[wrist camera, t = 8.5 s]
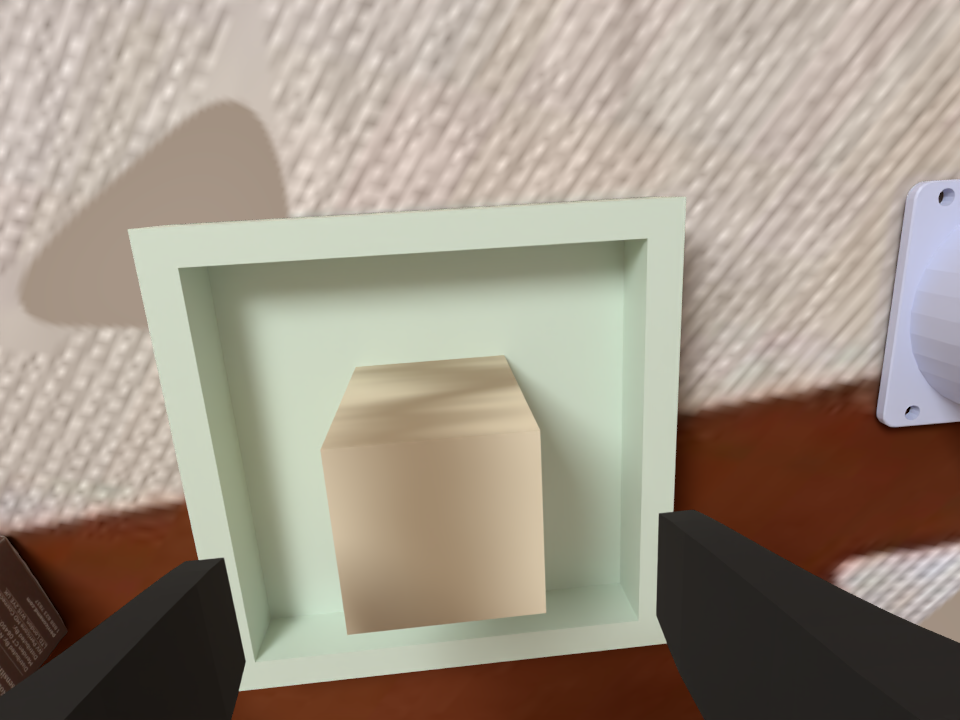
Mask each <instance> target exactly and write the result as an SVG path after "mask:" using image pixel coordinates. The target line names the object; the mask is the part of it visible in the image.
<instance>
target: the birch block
mask: <svg viewBox="0 0 960 720" xmlns="http://www.w3.org/2000/svg"><path fill="white" fill-rule="evenodd" d="M320 451H321V458H322V465H323V472H324V479H325V486H326V492H327V499H328V506H329V513H330V520H331V527H332V534H333V540H334V547H335V554H336V561H337V568H338V575H339V581H340V588H341V595H342V602H343V609H344V616H345V623H346V629H347V635H352V634H361V633H370V632H379V631H388V630H397V629H406V628H415V627H424V626H433V625H442V624H451V623H460V622H469V621H479V620H488V619H497V618H506V617H515V616H524V615H533V614H542V613H546V588H545V558H544V528H543V498H542V468H541V438H540V429H539V427H538V425H537V423H536V420H535V418H534V416H533V414H532V412H531V410H530V408H529V406H528V404H527V402H526V400H525V398H524V396H523V393H522V391H521V389H520V387H519V385H518V383H517V381H516V379H515V377H514V375H513V373H512V371H511V369H510V366H509V364H508V362H507V360H506V358H505V356H504V355H499V356H486V357H474V358H461V359H449V360H436V361H424V362H411V363H399V364H386V365H374V366H362V367H355V370H354V372H353V374H352V377H351V379H350V381H349V384H348V386H347V389H346V391H345V393H344V396H343V398H342V400H341V403H340V405H339V407H338V410H337V412H336V414H335V417H334V419H333V421H332V424H331V426H330V428H329V431H328V433H327V435H326V438H325V440H324V442H323V445H322V447H321V449H320Z"/></svg>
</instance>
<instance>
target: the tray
mask: <svg viewBox="0 0 960 720" xmlns="http://www.w3.org/2000/svg"><path fill="white" fill-rule="evenodd" d="M685 214H686V197H640V198H623V199H606V200H589V201H572V202H554V203H537V204H520V205H503V206H486V207H468V208H451V209H434V210H417V211H400V212H382V213H365V214H348V215H331V216H313V217H296V218H279V219H262V220H245V221H229V222H210V223H193V224H177V225H165V226H155V227H145V228H136V229H128V234H129V238H130V243H131V248H132V252H133V257H134V261H135V266H136V271H137V276H138V280H139V285H140V289H141V294H142V299H143V303H144V308H145V313H146V317H147V322H148V327H149V332H150V336H151V341H152V345H153V350H154V355H155V359H156V364H157V369H158V373H159V378H160V383H161V387H162V392H163V397H164V401H165V406H166V411H167V415H168V420H169V425H170V429H171V434H172V438H173V443H174V448H175V452H176V457H177V462H178V466H179V471H180V476H181V480H182V485H183V490H184V494H185V499H186V504H187V508H188V513H189V518H190V522H191V527H192V531H193V536H194V541H195V545H196V550H197V555H198V559H199V560H204V559H214V558H224V560H225V564H226V569H227V574H228V579H229V583H230V588H231V593H232V598H233V603H234V607H235V612H236V617H237V622H238V626H239V631H240V636H241V641H242V645H243V650H244V655H245V660H246V663H245V667H244V672H243V676H242V680H241V684H240V688H239V691H244V690H253V689H262V688H271V687H280V686H289V685H298V684H307V683H316V682H325V681H334V680H343V679H352V678H361V677H370V676H379V675H388V674H397V673H405V672H414V671H423V670H432V669H441V668H450V667H459V666H468V665H477V664H486V663H495V662H504V661H513V660H522V659H531V658H540V657H549V656H558V655H567V654H576V653H585V652H594V651H603V650H612V649H621V648H630V647H639V646H648V645H657V644H666V643H667V642H666V639H665V637H664V634H663V632H662V629H661V627H660V624H659V621H658V619H657V616H656V600H657V561H658V521H659V513H667V512H673V509H674V484H675V460H676V435H677V410H678V386H679V361H680V337H681V312H682V288H683V263H684V239H685ZM499 355H504V356H505V358H506V360H507V362H508V364H509V366H510V369H511V371H512V373H513V375H514V377H515V379H516V381H517V383H518V385H519V387H520V389H521V391H522V393H523V396H524V398H525V400H526V402H527V404H528V406H529V408H530V410H531V412H532V414H533V416H534V418H535V420H536V423H537V425H538V427H539V429H540V438H541V468H542V498H543V528H544V558H545V588H546V613H542V614H533V615H524V616H515V617H506V618H497V619H488V620H479V621H469V622H460V623H451V624H442V625H433V626H424V627H415V628H406V629H397V630H388V631H379V632H370V633H361V634H352V635H347V629H346V623H345V616H344V609H343V602H342V595H341V588H340V581H339V575H338V568H337V561H336V554H335V547H334V540H333V534H332V527H331V520H330V513H329V506H328V499H327V492H326V486H325V479H324V472H323V465H322V458H321V451H320V449H321V447H322V445H323V442H324V440H325V438H326V435H327V433H328V431H329V428H330V426H331V424H332V421H333V419H334V417H335V414H336V412H337V410H338V407H339V405H340V403H341V400H342V398H343V396H344V393H345V391H346V389H347V386H348V384H349V381H350V379H351V377H352V374H353V372H354V370H355V367H362V366H374V365H386V364H399V363H411V362H424V361H436V360H449V359H461V358H474V357H486V356H499Z"/></svg>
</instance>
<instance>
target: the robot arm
mask: <svg viewBox="0 0 960 720" xmlns="http://www.w3.org/2000/svg"><path fill="white" fill-rule="evenodd" d="M942 191H943V193H944V197H943V200H942V202H941V203H939V200H938V197H939V195H940V193H941V192H942ZM909 407H911V408H910V411H909V412H908V413H907V414H906V415H905V412H906V410H907V409H908V408H909ZM877 418H878V420H879V421H880V422H882V423H883V424H885V425H887V426H889V427H904V426H916V425H927V424H939V423H950V422H960V179H953V180H936V181H923V182H919V183H917V184H916V185H914V186H913V187H912V188H911V190H910V191H909V192H908V196H907V199H906V206H905V213H904V220H903V227H902V234H901V241H900V248H899V255H898V263H897V270H896V277H895V284H894V291H893V298H892V305H891V312H890V320H889V327H888V334H887V341H886V348H885V355H884V362H883V369H882V376H881V384H880V391H879V398H878V405H877ZM656 616H657V619H658V621H659V624H660V627H661V629H662V632H663V634H664V637H665V639H666V642H667V645H668V647H669V650H670V652H671V654H672V657H673V659H674V661H675V664H676V666H677V669H678V671H679V673H680V675H681V677H682V679H683V681H684V683H685V685H686V686H687V688H688V690H689V692H690V694H691V696H692V698H693V699H694V701H695V703H696V705H697V707H698V709H699V710H700V712H701V714H702V716H703V718H704V720H960V643H958V642H956V641H954V640H951V639H949V638H946V637H944V636H942V635H939V634H937V633H934V632H932V631H930V630H927V629H925V628H922V627H920V626H918V625H916V624H913V623H911V622H909V621H907V620H905V619H902V618H900V617H898V616H896V615H894V614H891V613H889V612H887V611H885V610H883V609H881V608H879V607H877V606H875V605H873V604H871V603H869V602H867V601H865V600H863V599H861V598H858V597H856V596H854V595H852V594H850V593H848V592H846V591H844V590H842V589H840V588H838V587H836V586H834V585H832V584H831V583H829V582H827V581H825V580H823V579H821V578H819V577H817V576H815V575H813V574H811V573H810V572H808V571H806V570H804V569H802V568H800V567H798V566H797V565H795V564H793V563H791V562H789V561H787V560H786V559H784V558H782V557H780V556H778V555H777V554H775V553H773V552H771V551H769V550H768V549H766V548H764V547H762V546H760V545H759V544H757V543H755V542H753V541H752V540H750V539H748V538H746V537H744V536H743V535H741V534H739V533H737V532H736V531H734V530H732V529H730V528H728V527H727V526H725V525H723V524H721V523H719V522H717V521H716V520H714V519H712V518H710V517H708V516H706V515H704V514H702V513H700V512H698V511H695V510H686V511H677V512H667V513H659V521H658V561H657V600H656ZM245 663H246V660H245V655H244V650H243V645H242V641H241V636H240V631H239V626H238V622H237V617H236V612H235V607H234V603H233V598H232V593H231V588H230V583H229V579H228V574H227V569H226V564H225V560H224V558H214V559H204V560H194V561H185V562H184V563H182V564H181V565H179V566H178V567H176V568H174V569H173V570H172V571H170V572H169V573H167V574H166V575H165V576H163V577H162V578H160V579H159V580H158V581H156V582H155V583H154V584H152V585H151V586H150V587H148V588H147V589H146V590H144V591H143V592H142V593H140V594H139V595H138V596H136V597H135V598H134V599H132V600H131V601H130V602H129V603H127V604H126V605H125V606H123V607H122V608H121V609H119V610H118V611H117V612H115V613H114V614H113V615H111V616H110V617H109V618H107V619H106V620H105V621H103V622H102V623H101V624H100V625H98V626H97V627H96V628H94V629H93V630H92V631H90V632H89V633H88V634H86V635H85V636H84V637H82V638H81V639H80V640H78V641H77V642H76V643H74V644H73V645H72V646H70V647H69V648H68V649H66V650H65V651H64V652H62V653H61V654H60V655H58V656H57V657H55V658H54V659H52V660H51V661H50V662H48V663H47V664H45V665H44V666H43V667H41V668H40V669H38V670H37V671H36V672H34V673H33V674H31V675H30V676H29V677H27V678H26V679H24V680H23V681H22V682H20V683H19V684H17V685H16V686H14V687H13V688H12V689H10V690H9V691H7V692H6V693H5V694H3V695H2V696H0V720H231V718H232V714H233V711H234V707H235V703H236V700H237V696H238V692H239V688H240V684H241V680H242V676H243V672H244V667H245Z"/></svg>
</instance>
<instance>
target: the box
mask: <svg viewBox="0 0 960 720" xmlns="http://www.w3.org/2000/svg"><path fill="white" fill-rule="evenodd" d="M66 633H67V628H66V627H65V625H64V623H63V621H62V618H61V617H60V616H59V614H58V612H57V611H56V609H55V608H54V606H53V605H52V603H51V602H50V600H49V598H48V597H47V595H46V594H45V592H44V591H43V589H42V588H41V586H40V584H39V583H38V581H37V579H36V578H35V577H34V576H33V574H32V573H31V571H30V569H29V567H28V566H27V564H26V562H25V561H24V560H23V559H21V557H20V555H19V553H18V551H17V550H16V549H15V548H14V547H13V546H12V545H11V543H10V542H9V541H8V539H7V538H6V537H5V536H2V535H0V696H2V695H3V694H5V693H6V692H7V691H9V690H10V689H12V688H13V687H14V686H16V685H17V684H19V683H20V682H22V681H23V680H24V679H26V678H27V677H29V676H30V675H31V674H33V673H34V672H36V671H37V670H38V669H39V668H40V666H41V665H42V664H43V662H44V661H45V660H46V659H47V658H48V656H49V655H50V654H51V652H52V651H53V650H54V649H55V648H56V646H57V645H58V643H59V642H60V640H61V639H62V638H63V637H64V636H65V635H66Z"/></svg>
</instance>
